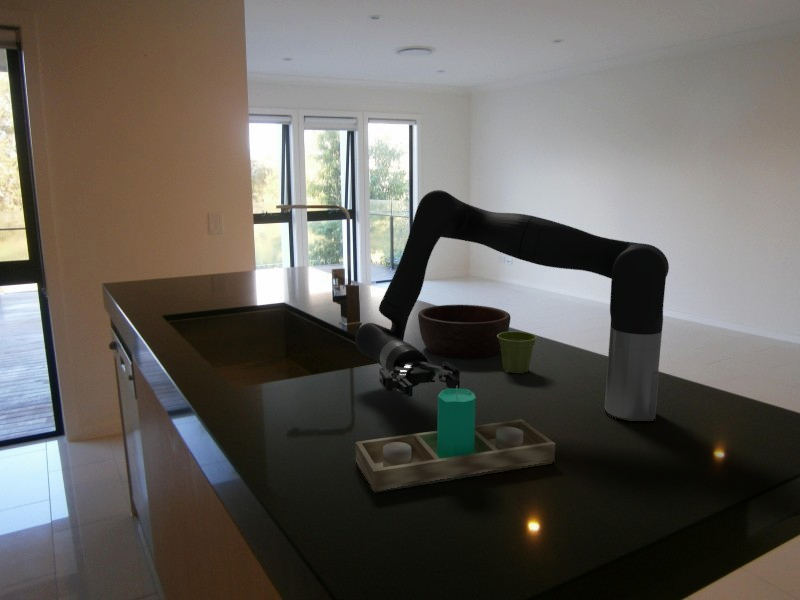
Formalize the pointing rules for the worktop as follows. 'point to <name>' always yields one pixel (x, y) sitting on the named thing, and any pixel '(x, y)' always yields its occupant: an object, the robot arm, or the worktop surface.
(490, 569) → the worktop surface
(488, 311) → the wooden bowl
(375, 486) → the tray
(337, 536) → the worktop surface
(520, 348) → the plant pot
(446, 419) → the candle
